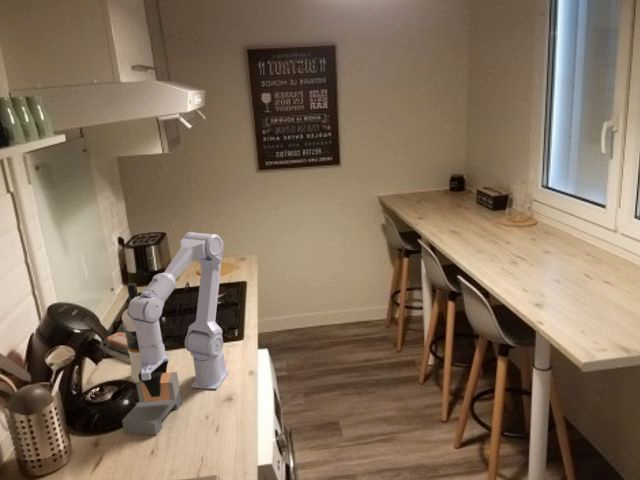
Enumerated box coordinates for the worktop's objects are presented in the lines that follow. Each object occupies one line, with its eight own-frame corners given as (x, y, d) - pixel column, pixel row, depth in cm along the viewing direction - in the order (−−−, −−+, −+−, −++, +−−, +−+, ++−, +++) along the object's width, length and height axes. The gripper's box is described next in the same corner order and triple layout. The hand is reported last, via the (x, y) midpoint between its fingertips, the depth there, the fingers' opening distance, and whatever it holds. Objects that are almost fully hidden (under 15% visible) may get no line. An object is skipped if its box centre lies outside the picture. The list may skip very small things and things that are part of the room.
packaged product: (97, 339, 174) (123, 327, 182) (99, 352, 175) (125, 340, 183) (130, 352, 164) (156, 339, 172) (133, 366, 165) (158, 352, 173)
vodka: (165, 380, 155) (149, 286, 146) (132, 388, 152) (114, 292, 143) (162, 366, 163) (147, 276, 154) (131, 373, 160) (114, 282, 151)
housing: (139, 402, 133) (136, 385, 131) (145, 391, 138) (142, 374, 136) (175, 399, 133) (172, 382, 131) (179, 388, 138) (176, 371, 136)
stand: (153, 400, 145) (151, 389, 144) (182, 402, 143) (180, 391, 142) (124, 432, 132) (121, 420, 131) (156, 435, 130) (154, 423, 129)
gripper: (158, 355, 124) (167, 405, 128) (173, 328, 138) (180, 373, 142) (128, 357, 124) (138, 407, 128) (146, 330, 138) (154, 375, 142)
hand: (158, 389), depth 135 cm, fingers closed on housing, 5 cm apart
